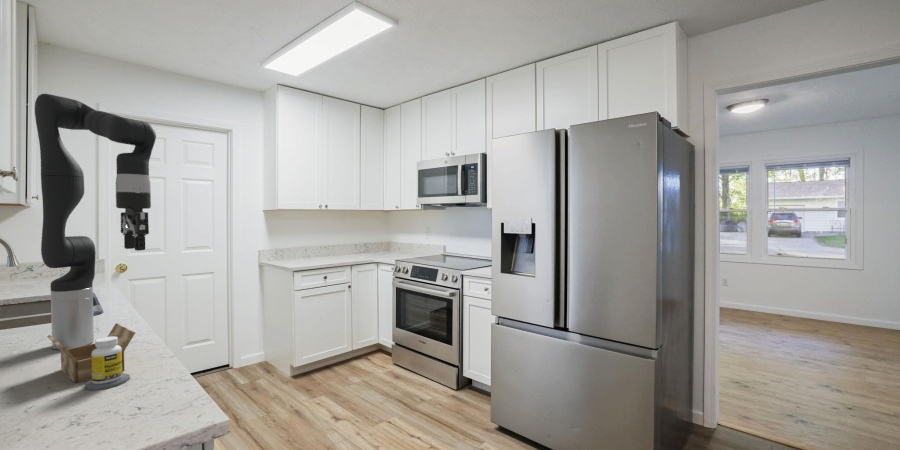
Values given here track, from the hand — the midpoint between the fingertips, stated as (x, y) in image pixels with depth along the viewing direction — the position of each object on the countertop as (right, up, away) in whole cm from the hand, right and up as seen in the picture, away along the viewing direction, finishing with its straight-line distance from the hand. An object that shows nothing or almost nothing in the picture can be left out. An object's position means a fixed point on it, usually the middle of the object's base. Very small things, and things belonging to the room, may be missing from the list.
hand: (134, 249), depth 109 cm
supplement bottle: (+7, -30, -17) cm, 35 cm away
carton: (-3, -30, -9) cm, 32 cm away
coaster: (+7, -31, -17) cm, 36 cm away
